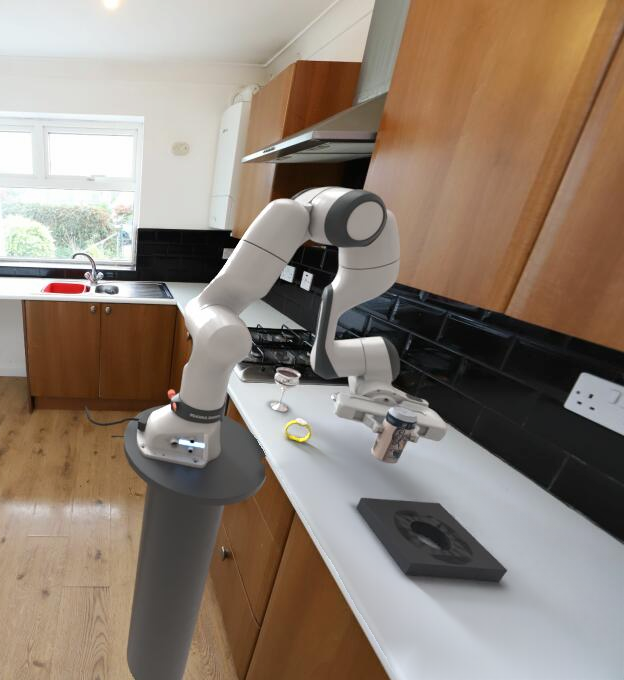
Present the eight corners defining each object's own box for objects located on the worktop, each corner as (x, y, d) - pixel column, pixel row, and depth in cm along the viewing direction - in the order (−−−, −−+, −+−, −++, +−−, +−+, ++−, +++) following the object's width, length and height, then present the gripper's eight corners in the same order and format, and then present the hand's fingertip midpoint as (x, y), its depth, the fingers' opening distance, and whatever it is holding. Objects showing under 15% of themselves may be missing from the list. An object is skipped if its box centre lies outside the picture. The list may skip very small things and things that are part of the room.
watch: (283, 439, 94) (288, 420, 91) (283, 433, 96) (288, 415, 94) (307, 446, 91) (314, 427, 89) (307, 440, 94) (313, 421, 91)
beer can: (388, 468, 73) (411, 420, 68) (365, 453, 77) (385, 407, 72) (401, 462, 75) (424, 415, 70) (378, 448, 79) (398, 402, 74)
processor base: (405, 574, 60) (411, 563, 59) (356, 508, 73) (360, 497, 72) (499, 582, 60) (507, 570, 59) (433, 513, 73) (439, 503, 72)
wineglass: (294, 413, 105) (305, 378, 101) (272, 412, 105) (282, 377, 101) (284, 401, 112) (294, 367, 107) (263, 400, 111) (272, 366, 107)
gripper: (333, 380, 86) (343, 408, 75) (435, 402, 80) (464, 437, 68) (326, 402, 89) (334, 432, 77) (424, 425, 82) (450, 462, 70)
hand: (396, 435), depth 72 cm, fingers closed on beer can, 5 cm apart
